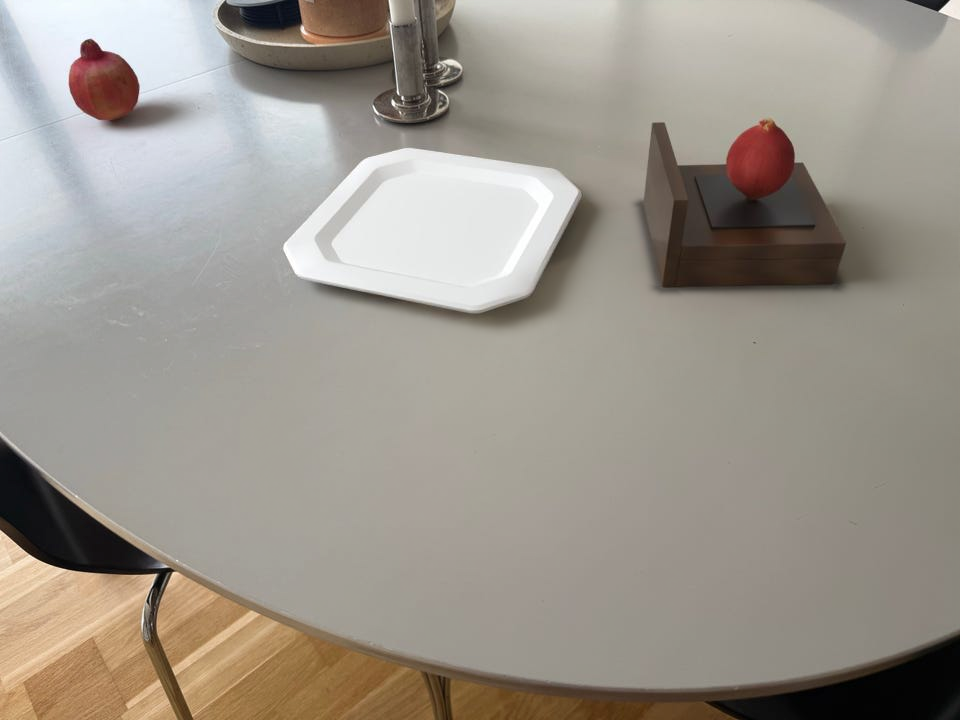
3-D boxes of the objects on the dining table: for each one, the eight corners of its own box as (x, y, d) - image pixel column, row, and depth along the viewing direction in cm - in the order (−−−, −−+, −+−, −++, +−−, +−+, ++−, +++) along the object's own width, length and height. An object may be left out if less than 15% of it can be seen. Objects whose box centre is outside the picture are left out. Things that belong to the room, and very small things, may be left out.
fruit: (150, 125, 102) (123, 45, 95) (82, 138, 100) (50, 57, 93) (147, 99, 108) (121, 22, 101) (82, 111, 106) (52, 33, 99)
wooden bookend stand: (793, 200, 83) (814, 118, 77) (833, 284, 73) (861, 196, 67) (643, 204, 84) (652, 122, 78) (662, 287, 74) (673, 200, 67)
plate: (517, 337, 69) (517, 317, 68) (265, 285, 76) (260, 266, 75) (591, 191, 86) (592, 172, 85) (379, 159, 93) (377, 141, 92)
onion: (735, 176, 78) (750, 96, 73) (794, 192, 76) (814, 111, 70) (709, 204, 75) (723, 122, 69) (771, 222, 72) (790, 139, 67)
